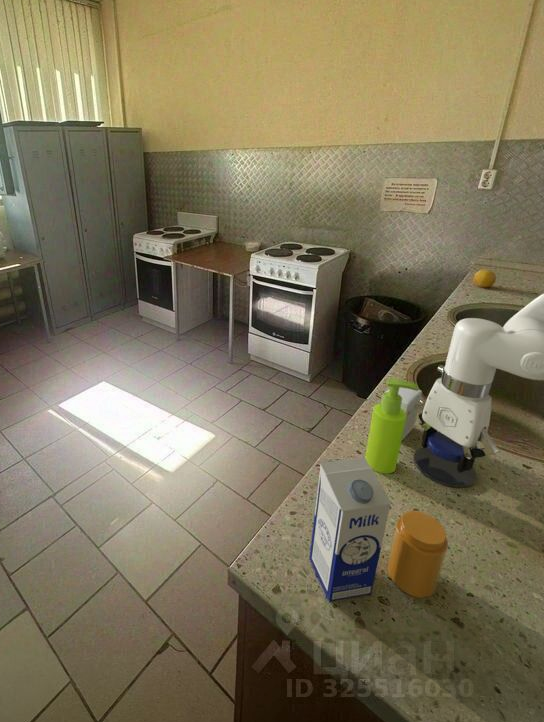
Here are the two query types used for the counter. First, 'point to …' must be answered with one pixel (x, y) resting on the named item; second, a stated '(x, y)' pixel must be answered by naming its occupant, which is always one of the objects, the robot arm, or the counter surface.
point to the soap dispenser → (387, 428)
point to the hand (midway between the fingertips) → (444, 456)
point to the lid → (444, 447)
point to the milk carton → (348, 527)
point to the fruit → (484, 278)
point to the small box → (409, 407)
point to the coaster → (442, 470)
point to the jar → (417, 553)
